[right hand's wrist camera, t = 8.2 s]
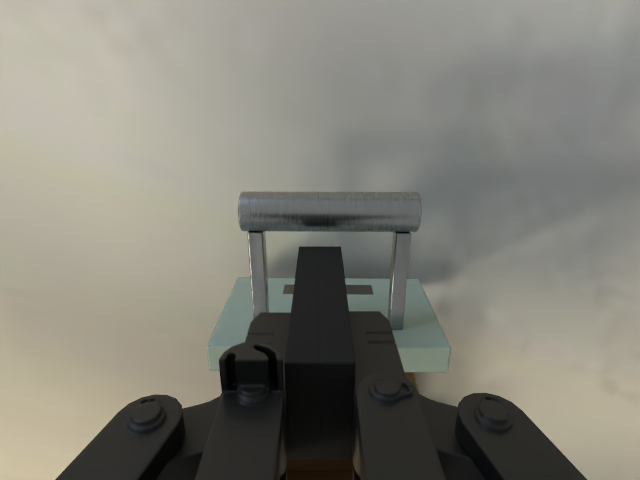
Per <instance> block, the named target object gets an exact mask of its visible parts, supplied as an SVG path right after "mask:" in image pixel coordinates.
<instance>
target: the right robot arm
mask: <svg viewBox="0 0 640 480" xmlns="http://www.w3.org/2000/svg"><path fill="white" fill-rule="evenodd" d="M219 368H220V378H221V387H222V394H221V396H219V397H217V398H216V399H214V400H212V401H209V402H206V403H203V404H200V405H196V406H192V407H188V408H183V409H182V405H181V404H180V403H179V402H178V400H177V399H176V398H173V397H170V396H168V395H151V396H147V397H143V398H140V399H138V400H136V401H134V402H132V403H130V404H128V405H127V406H126V407H124V408H123V409H122V410H121V411H119V412H118V413H117V414H116V416H115V417H114V418H113V419H112V420H111V421H110V422H109V423H108V424H107V425H106V426H105V427H104V428H103V429H102V430H101V432H100V433H99V434H98V435H97V436H96V437H95V438H94V439H93V440H92V441H91V442H90V443H89V444H88V445H87V446H86V448H85V449H84V450H83V451H82V452H81V453H80V454H79V455H78V456H77V457H76V458H75V459H74V460H73V461H72V463H71V464H70V465H69V466H68V467H67V468H66V469H65V470H64V471H63V472H62V473H61V474H60V475H59V476H58V477H57V479H56V480H287V457H288V459H352V455H353V480H587V479H586V478H585V477H584V476H583V475H582V474H581V473H580V472H579V471H578V470H577V469H576V467H575V466H574V465H573V464H572V463H571V462H570V461H569V460H568V459H567V458H566V457H565V456H564V455H563V454H562V453H561V452H560V450H559V449H558V448H557V447H556V446H555V445H554V444H553V443H552V442H551V441H550V440H549V439H548V438H547V437H546V436H545V435H544V434H543V432H542V431H541V430H540V429H539V428H538V427H537V426H536V425H535V424H534V423H533V422H532V421H531V420H530V419H529V418H528V417H527V415H526V414H525V413H524V412H523V411H522V410H521V409H519V408H518V407H517V406H516V405H514V404H513V403H512V402H510V401H508V400H506V399H504V398H502V397H500V396H496V395H492V394H488V393H473V394H471V395H468V396H466V397H464V398H463V399H462V400H461V401H460V403H459V405H458V407H455V406H451V405H447V404H443V403H439V402H436V401H433V400H430V399H428V398H426V397H424V396H422V395H420V394H419V393H418V391H417V389H416V387H415V386H414V384H413V383H412V382H411V381H409V380H408V379H407V378H406V376H405V372H404V369H403V365H402V362H401V359H400V355H399V352H398V348H397V345H396V343H395V338H394V335H393V331H392V328H391V325H390V321H389V320H388V319H387V318H386V317H385V316H384V315H383V314H382V313H381V312H380V311H349V307H348V299H347V292H346V284H345V276H344V268H343V260H342V252H341V247H299V252H298V260H297V268H296V276H295V284H294V292H293V299H292V307H291V312H260V313H259V314H258V315H257V316H256V317H255V318H254V319H253V320H252V321H251V323H250V326H249V330H248V333H247V336H246V340H245V342H243V343H240V344H237V345H235V346H232V347H231V348H229V349H228V350H226V351H225V352H224V353H223V354H222V356H221V357H220V359H219Z"/></svg>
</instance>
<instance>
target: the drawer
mask: <svg viewBox="0 0 640 480" xmlns="http://www.w3.org/2000/svg"><path fill="white" fill-rule="evenodd" d="M238 218H239V225H240V228H241V230H242V231H248V248H249V262H250V277H251V278H238V279H237V281H236V283H235V285H234V288H233V290H232V292H231V294H230V296H229V299H228V301H227V303H226V305H225V307H224V310H223V312H222V314H221V316H220V318H219V321H218V323H217V325H216V327H215V329H214V332H213V334H212V336H211V338H210V340H209V343H208V345H207V352H208V361H209V369H210V370H220V368H219V359H220V357H221V356H222V354H223V353H224V352H225V351H226V350H228V349H229V348H231V347H232V346H235V345H237V344H240V343H243V342H245V340H246V336H247V333H248V330H249V326H250V323H251V321H252V320H253V319H254V318H255V317H256V316H257V315H258V314H259V313H260V312H291V307H292V299H293V292H294V284H295V278H268V277H267V258H266V239H265V231H352V232H393V243H392V257H391V272H390V279H372V278H345V284H346V292H347V299H348V307H349V311H380V312H381V313H382V314H383V315H384V316H385V317H386V318H387V319H388V320H389V321H390V325H391V328H392V331H393V335H394V338H395V343H396V345H397V348H398V352H399V355H400V359H401V362H402V365H403V369H404V372H405V376H406V378H407V379H408V380H409V381H411V382H412V383H413V384H414V386H415V387H416V389H417V391H418V393H419V394H420V392H419V389H418V385H417V382H416V379H415V376H414V372H443V373H446V372H448V368H449V360H450V353H451V347H450V345H449V343H448V341H447V339H446V336H445V334H444V332H443V330H442V328H441V326H440V324H439V322H438V320H437V317H436V315H435V313H434V311H433V309H432V307H431V305H430V303H429V300H428V298H427V296H426V294H425V292H424V290H423V288H422V286H421V284H420V281H419V279H407V276H408V265H409V253H410V241H411V233H410V232H416V231H418V229H419V226H420V221H421V200H420V196H419V194H418V193H417V192H241V194H240V197H239V203H238ZM287 480H353V455H352V459H288V457H287Z"/></svg>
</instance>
